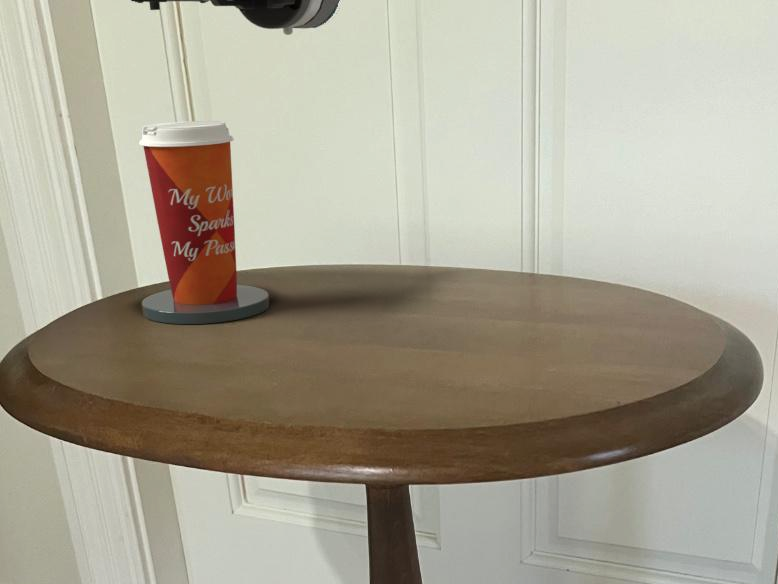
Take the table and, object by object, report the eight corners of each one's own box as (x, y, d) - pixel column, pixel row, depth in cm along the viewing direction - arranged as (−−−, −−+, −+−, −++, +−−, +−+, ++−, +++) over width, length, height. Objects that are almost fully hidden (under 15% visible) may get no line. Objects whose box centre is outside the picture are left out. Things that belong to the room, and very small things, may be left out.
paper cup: (189, 312, 90) (166, 130, 84) (144, 298, 95) (119, 125, 89) (267, 296, 95) (251, 122, 88) (220, 283, 100) (202, 118, 93)
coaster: (119, 321, 92) (117, 309, 92) (179, 293, 102) (178, 282, 101) (237, 327, 90) (236, 315, 89) (288, 297, 99) (287, 286, 98)
